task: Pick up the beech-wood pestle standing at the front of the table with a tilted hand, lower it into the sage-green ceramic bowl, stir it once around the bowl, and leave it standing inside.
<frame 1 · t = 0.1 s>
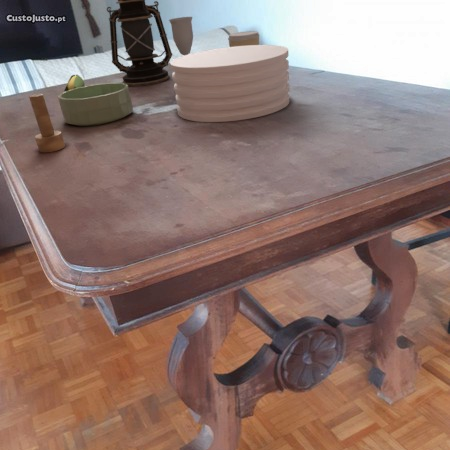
lantern: (146, 81, 160), on the table
pestle: (52, 148, 104), on the table
chalice: (190, 87, 144), on the table
bowl: (99, 117, 123), on the table
coffee cup: (246, 78, 147), on the table
plate stack: (233, 106, 118), on the table
edible corn: (76, 94, 153), on the table
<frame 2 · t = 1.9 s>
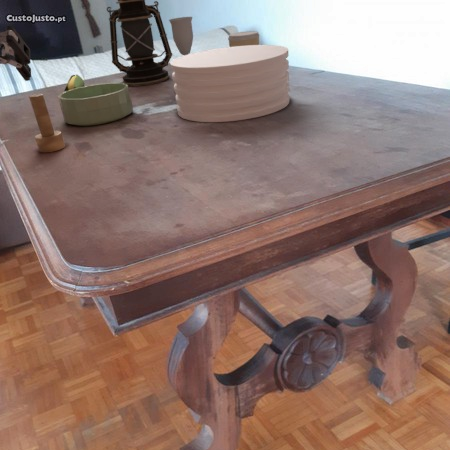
hand: (5, 79, 86), 16 cm above the table, tool tilted 45°, fingers open, 8 cm apart
nothing on the table moved.
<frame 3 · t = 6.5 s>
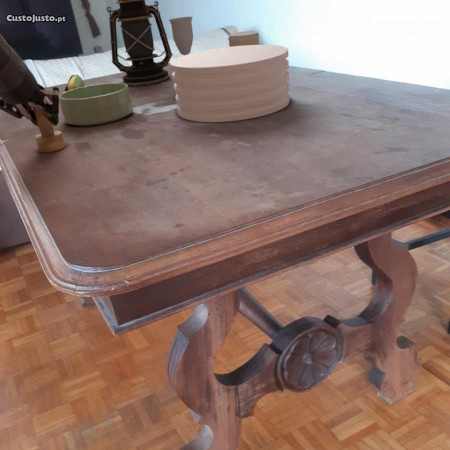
hand: (48, 122, 103), 5 cm above the table, tool tilted 45°, fingers closed on pestle, 3 cm apart
pestle: (52, 148, 104), on the table, touching gripper
everything else where it was.
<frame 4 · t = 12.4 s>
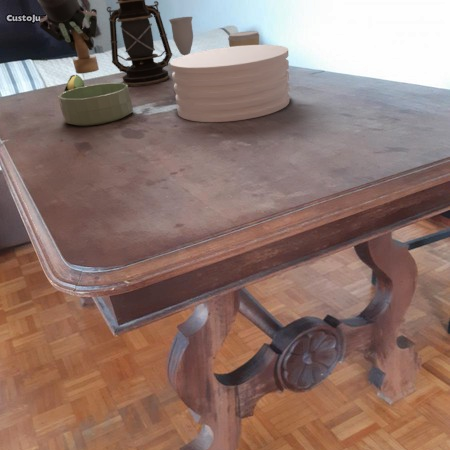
hand: (84, 47, 115), 16 cm above the table, tool tilted 45°, fingers closed on pestle, 3 cm apart
pestle: (87, 71, 116), point 11 cm above the table, touching gripper
everything else where it was.
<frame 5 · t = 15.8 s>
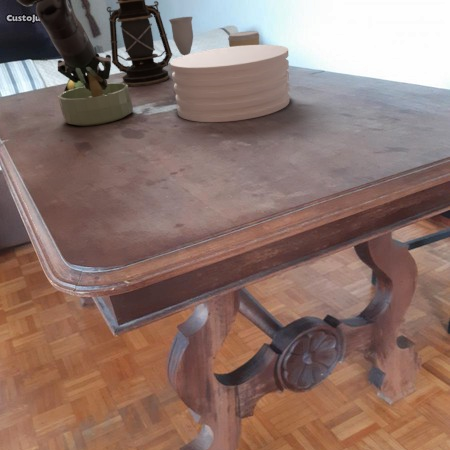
hand: (97, 87, 123), 7 cm above the table, tool tilted 45°, fingers closed on pestle, 3 cm apart
pestle: (100, 109, 124), point 2 cm above the table, touching gripper
everything else where it was.
when the fingers open (6 cm above the table, at t = 18.5 s): pestle stays where it is, resting on bowl.
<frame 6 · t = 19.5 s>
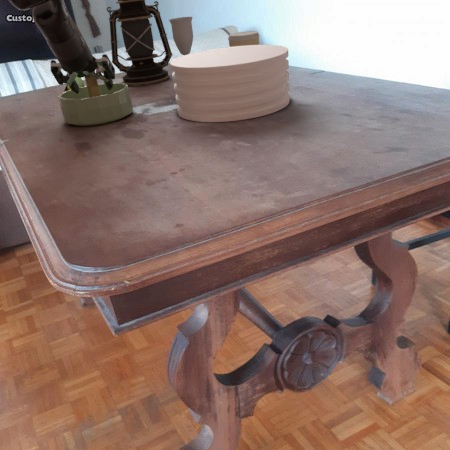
hand: (93, 88, 121), 7 cm above the table, tool tilted 45°, fingers open, 8 cm apart
pestle: (99, 114, 123), point 1 cm above the table, touching bowl
everything else where it was.
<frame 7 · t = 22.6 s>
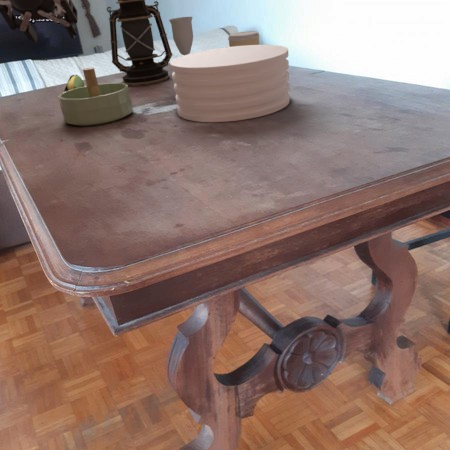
hand: (54, 37, 102), 20 cm above the table, tool tilted 45°, fingers open, 8 cm apart
nothing on the table moved.
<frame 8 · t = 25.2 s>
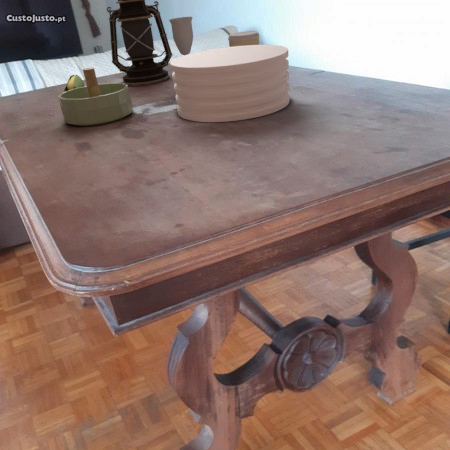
nothing on the table moved.
at the end: pestle inside the target area in the bowl (0.1 cm from its centre), point 0.6 cm above the bowl's base; pestle tilted 0°; the gripper is holding nothing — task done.
